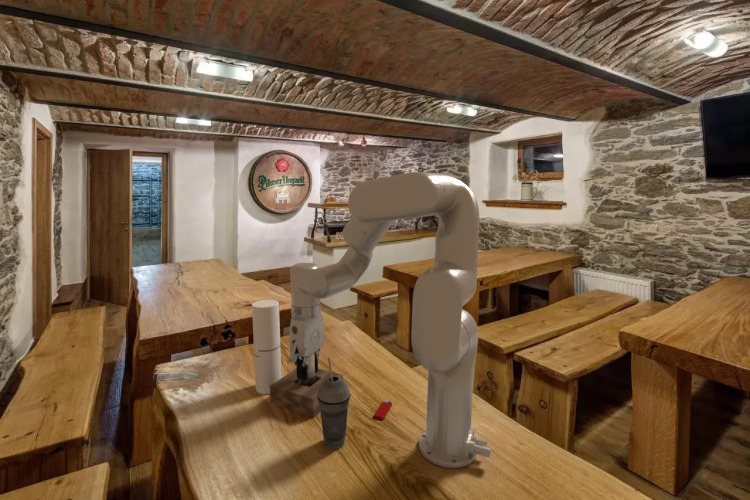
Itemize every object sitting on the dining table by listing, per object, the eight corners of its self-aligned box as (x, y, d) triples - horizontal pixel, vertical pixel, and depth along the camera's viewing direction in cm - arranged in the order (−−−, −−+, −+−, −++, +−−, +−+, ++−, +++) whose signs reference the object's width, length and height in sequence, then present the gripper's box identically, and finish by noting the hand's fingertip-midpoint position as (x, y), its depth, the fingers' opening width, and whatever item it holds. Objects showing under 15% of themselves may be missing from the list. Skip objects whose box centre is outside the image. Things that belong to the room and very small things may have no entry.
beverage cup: (337, 458, 80) (336, 370, 77) (311, 446, 84) (309, 361, 81) (357, 439, 86) (356, 357, 83) (331, 428, 90) (330, 349, 87)
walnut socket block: (343, 391, 107) (342, 374, 106) (313, 417, 95) (313, 398, 94) (303, 379, 113) (302, 364, 112) (270, 403, 101) (269, 385, 100)
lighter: (372, 414, 95) (383, 398, 102) (372, 419, 95) (383, 402, 102) (383, 417, 94) (393, 400, 101) (383, 422, 94) (393, 405, 101)
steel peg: (318, 387, 104) (317, 346, 102) (309, 394, 101) (308, 351, 99) (306, 383, 106) (305, 343, 104) (297, 390, 103) (296, 348, 101)
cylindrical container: (274, 395, 105) (271, 308, 101) (251, 392, 106) (246, 306, 102) (285, 382, 112) (283, 300, 108) (263, 380, 113) (260, 299, 109)
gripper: (297, 321, 91) (299, 392, 94) (335, 303, 106) (335, 365, 109) (273, 317, 94) (275, 385, 97) (313, 300, 109) (314, 360, 112)
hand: (307, 374), depth 103 cm, fingers closed on steel peg, 4 cm apart
